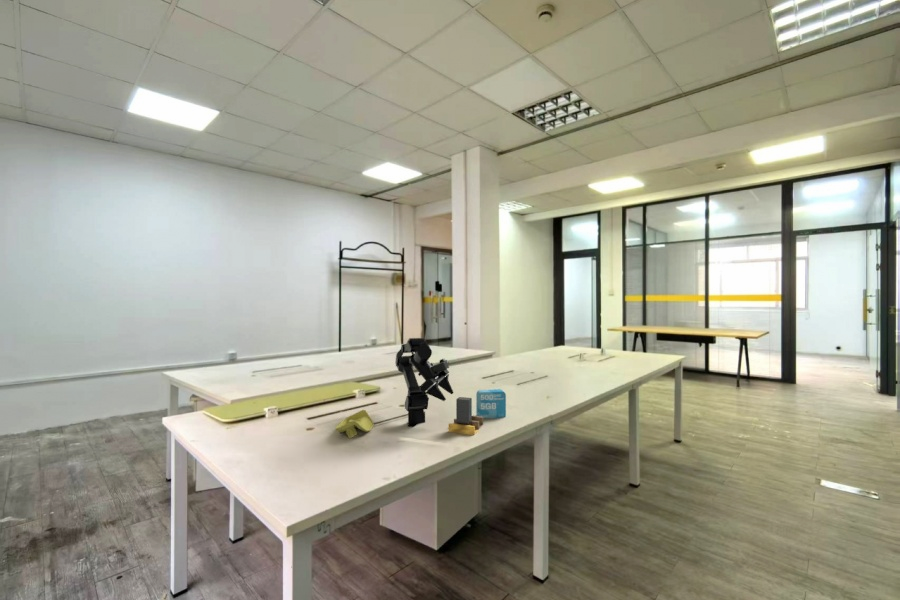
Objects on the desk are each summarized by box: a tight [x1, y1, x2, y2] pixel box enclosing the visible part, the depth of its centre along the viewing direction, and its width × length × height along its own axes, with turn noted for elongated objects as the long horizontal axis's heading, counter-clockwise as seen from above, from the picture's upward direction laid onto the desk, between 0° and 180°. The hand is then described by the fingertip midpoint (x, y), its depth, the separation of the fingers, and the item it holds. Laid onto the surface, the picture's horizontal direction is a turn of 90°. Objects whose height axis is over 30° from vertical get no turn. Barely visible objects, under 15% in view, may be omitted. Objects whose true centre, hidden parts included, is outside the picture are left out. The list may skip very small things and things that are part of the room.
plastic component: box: [335, 409, 375, 439], centre depth 145 cm, size 20×7×10 cm
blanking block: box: [455, 396, 473, 426], centre depth 144 cm, size 5×4×12 cm
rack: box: [448, 415, 484, 436], centre depth 147 cm, size 10×13×4 cm
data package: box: [475, 388, 507, 419], centre depth 163 cm, size 12×4×12 cm, turn 98°
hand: (448, 396), depth 148 cm, fingers open, 9 cm apart
